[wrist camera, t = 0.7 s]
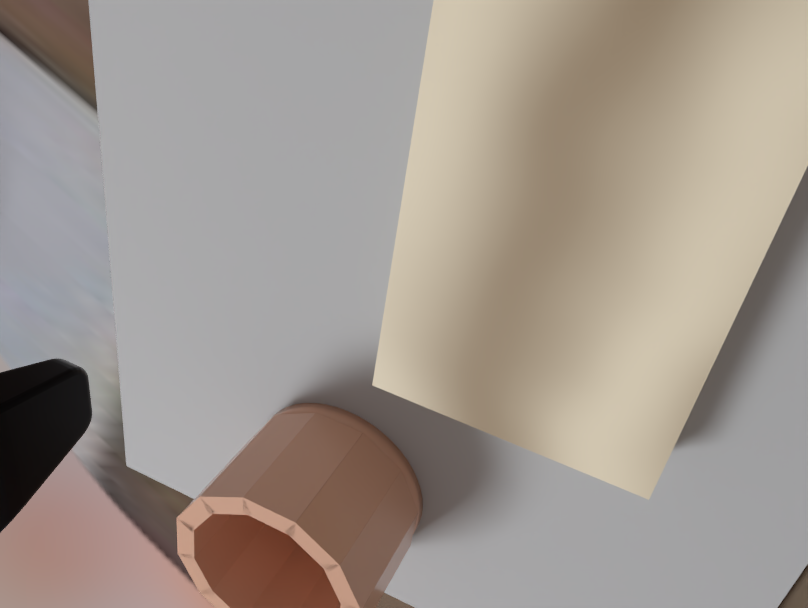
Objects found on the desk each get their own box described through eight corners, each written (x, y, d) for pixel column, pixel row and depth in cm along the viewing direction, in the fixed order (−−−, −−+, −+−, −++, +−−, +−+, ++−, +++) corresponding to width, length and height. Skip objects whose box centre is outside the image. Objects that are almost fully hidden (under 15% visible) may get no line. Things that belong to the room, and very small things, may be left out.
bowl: (437, 449, 23) (370, 559, 20) (408, 574, 26) (346, 686, 23) (265, 375, 25) (175, 464, 21) (258, 502, 28) (179, 597, 25)
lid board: (892, -48, 13) (903, -35, 12) (660, 453, 20) (648, 499, 18) (487, -132, 15) (454, -129, 14) (400, 350, 22) (372, 385, 20)
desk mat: (1202, -24, 12) (1213, -21, 12) (686, 729, 25) (685, 740, 25) (81, -243, 18) (68, -244, 18) (133, 459, 31) (126, 465, 30)
